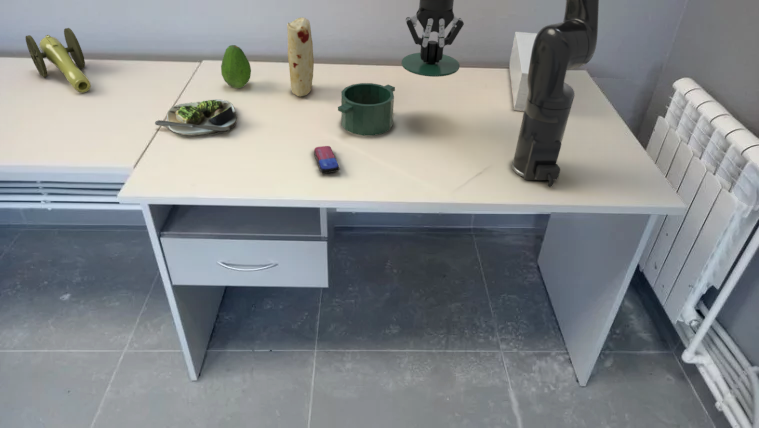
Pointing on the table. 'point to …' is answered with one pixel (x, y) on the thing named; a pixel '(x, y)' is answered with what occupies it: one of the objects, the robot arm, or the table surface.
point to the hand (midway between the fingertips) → (430, 60)
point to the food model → (300, 56)
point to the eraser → (326, 159)
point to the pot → (367, 108)
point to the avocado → (235, 67)
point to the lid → (430, 63)
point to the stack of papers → (520, 67)
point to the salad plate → (201, 117)
